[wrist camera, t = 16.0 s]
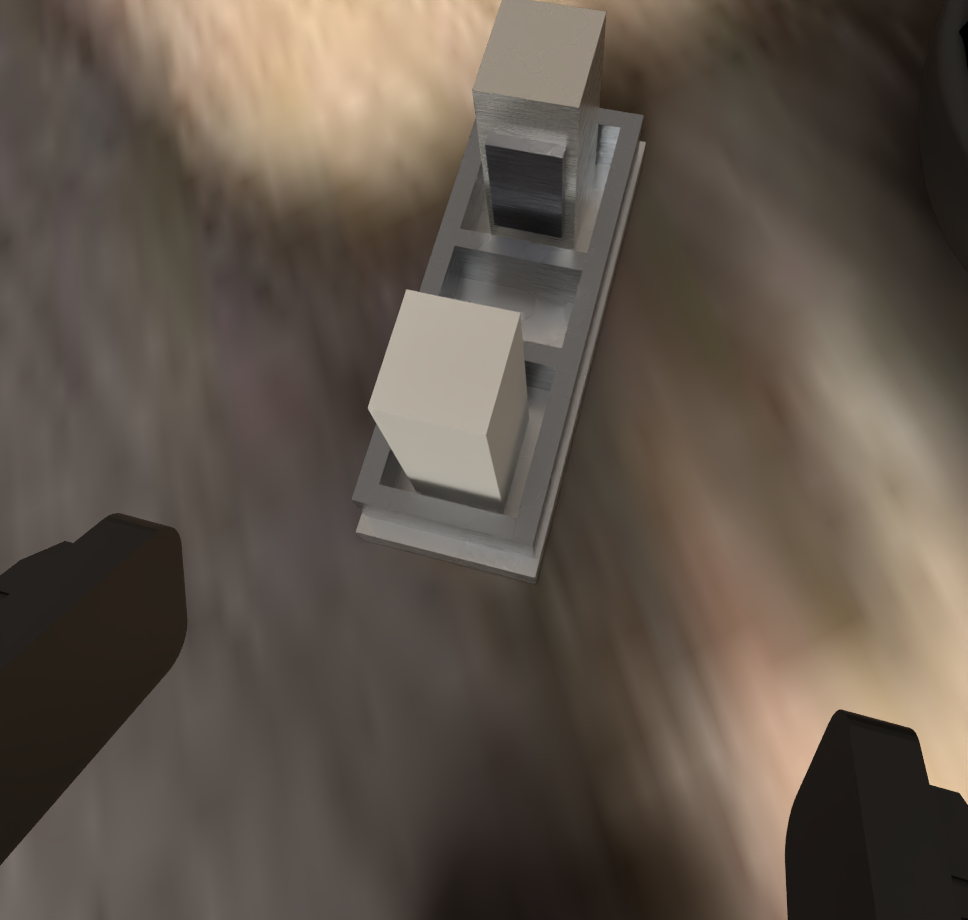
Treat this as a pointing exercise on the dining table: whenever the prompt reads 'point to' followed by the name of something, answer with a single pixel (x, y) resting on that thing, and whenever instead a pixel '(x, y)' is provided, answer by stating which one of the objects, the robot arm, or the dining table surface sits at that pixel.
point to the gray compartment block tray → (524, 272)
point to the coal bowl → (947, 125)
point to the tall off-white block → (454, 398)
